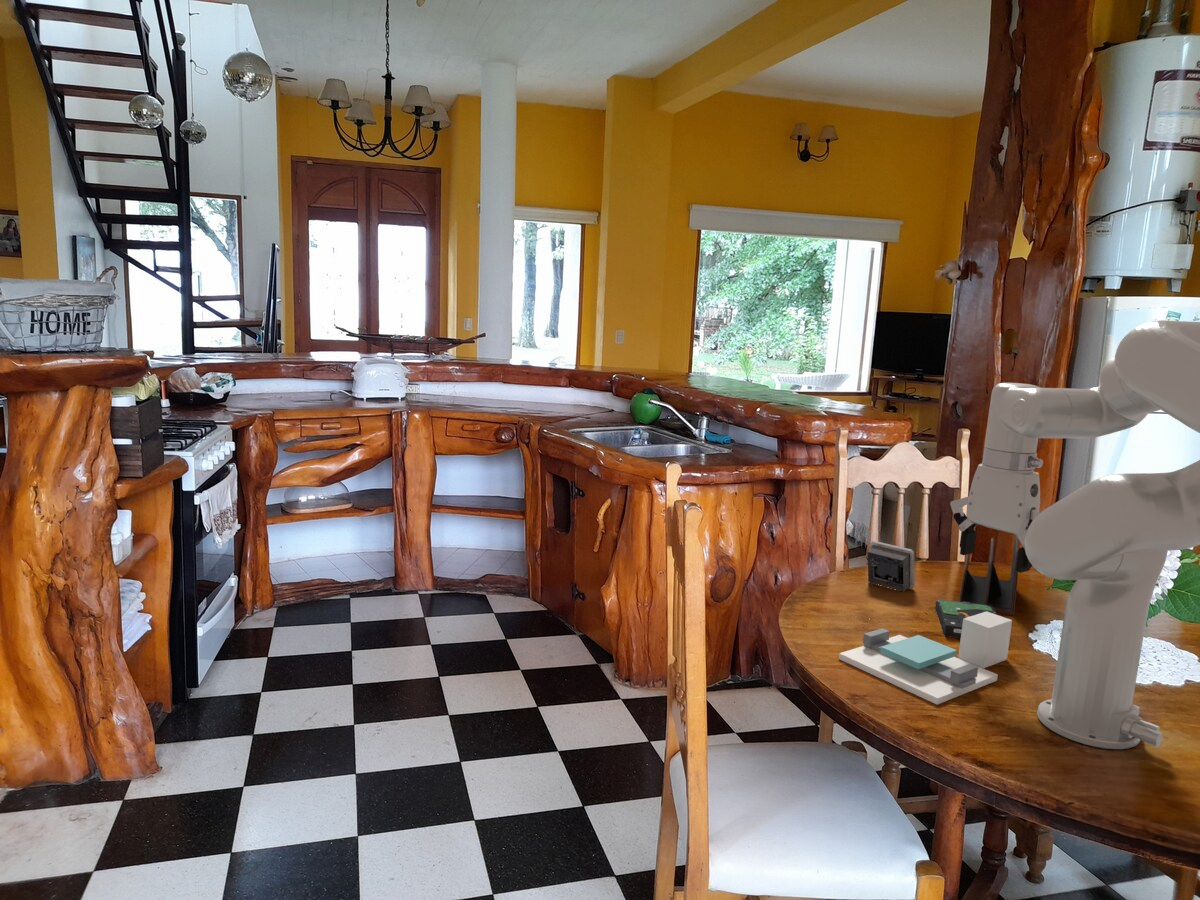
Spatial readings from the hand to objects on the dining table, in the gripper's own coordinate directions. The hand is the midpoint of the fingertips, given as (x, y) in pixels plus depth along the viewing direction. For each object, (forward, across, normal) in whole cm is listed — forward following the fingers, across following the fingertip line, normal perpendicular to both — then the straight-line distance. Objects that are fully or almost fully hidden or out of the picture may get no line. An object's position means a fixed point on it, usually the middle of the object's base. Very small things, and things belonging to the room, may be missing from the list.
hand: (993, 562), depth 136 cm
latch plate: (+14, +3, +14) cm, 20 cm away
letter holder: (+18, +17, -31) cm, 39 cm away
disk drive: (+18, +9, -12) cm, 23 cm away
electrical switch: (+17, +30, -17) cm, 39 cm away
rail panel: (+17, +2, +14) cm, 22 cm away
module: (+17, 0, 0) cm, 17 cm away
